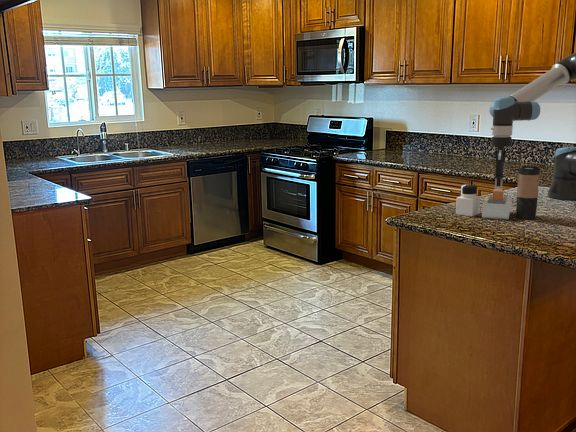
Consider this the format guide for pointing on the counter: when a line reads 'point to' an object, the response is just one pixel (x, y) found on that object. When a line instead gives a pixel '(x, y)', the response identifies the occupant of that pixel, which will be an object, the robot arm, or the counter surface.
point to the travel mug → (527, 192)
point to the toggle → (498, 194)
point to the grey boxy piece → (496, 208)
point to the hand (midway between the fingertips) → (498, 193)
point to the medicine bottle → (468, 201)
